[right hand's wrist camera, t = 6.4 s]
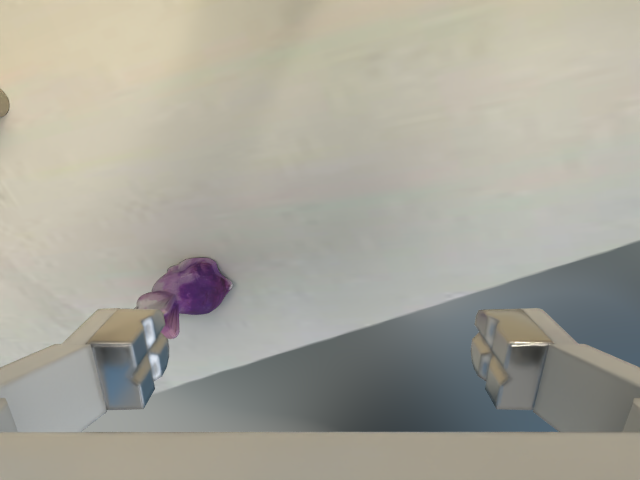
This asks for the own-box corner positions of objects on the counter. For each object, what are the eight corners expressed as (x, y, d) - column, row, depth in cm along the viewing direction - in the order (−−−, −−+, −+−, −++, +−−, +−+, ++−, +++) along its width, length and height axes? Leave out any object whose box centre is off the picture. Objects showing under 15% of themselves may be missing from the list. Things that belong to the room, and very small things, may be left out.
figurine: (152, 281, 63) (104, 335, 49) (193, 240, 60) (155, 284, 46) (197, 318, 65) (163, 379, 51) (238, 280, 63) (215, 334, 49)
